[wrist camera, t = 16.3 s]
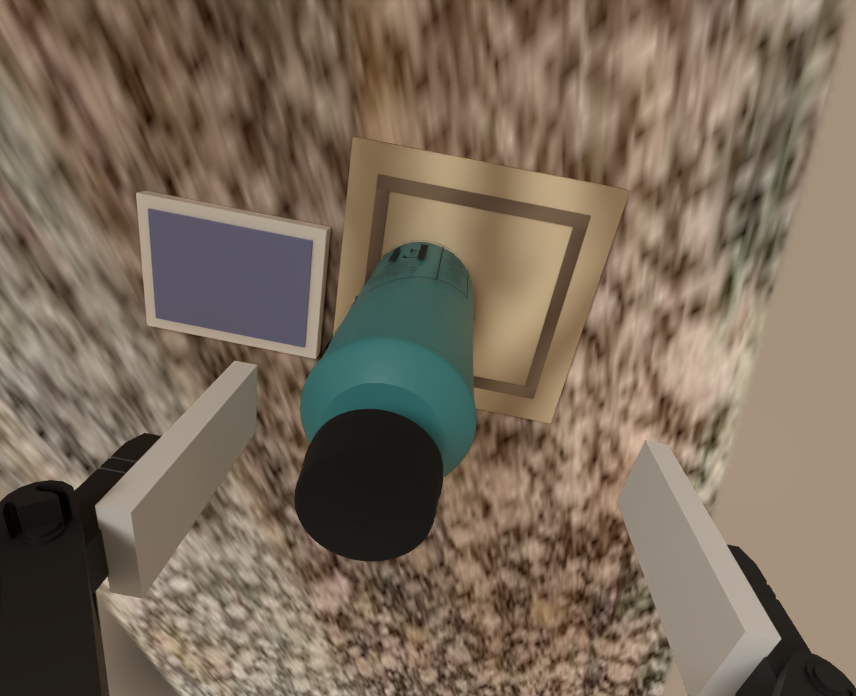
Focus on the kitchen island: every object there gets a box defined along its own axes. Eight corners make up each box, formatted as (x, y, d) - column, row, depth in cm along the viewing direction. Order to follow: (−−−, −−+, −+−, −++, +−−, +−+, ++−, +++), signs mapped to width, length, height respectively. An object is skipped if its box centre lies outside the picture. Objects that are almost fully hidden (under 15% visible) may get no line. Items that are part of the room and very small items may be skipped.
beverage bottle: (442, 212, 29) (396, 362, 11) (494, 304, 31) (529, 558, 13) (353, 265, 31) (185, 470, 13) (408, 348, 33) (333, 626, 15)
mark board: (331, 373, 35) (328, 379, 34) (355, 136, 28) (352, 137, 28) (549, 417, 35) (550, 424, 34) (625, 189, 28) (630, 191, 27)
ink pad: (155, 319, 35) (145, 326, 34) (146, 190, 31) (133, 193, 30) (320, 352, 35) (314, 360, 33) (331, 227, 31) (325, 230, 30)
